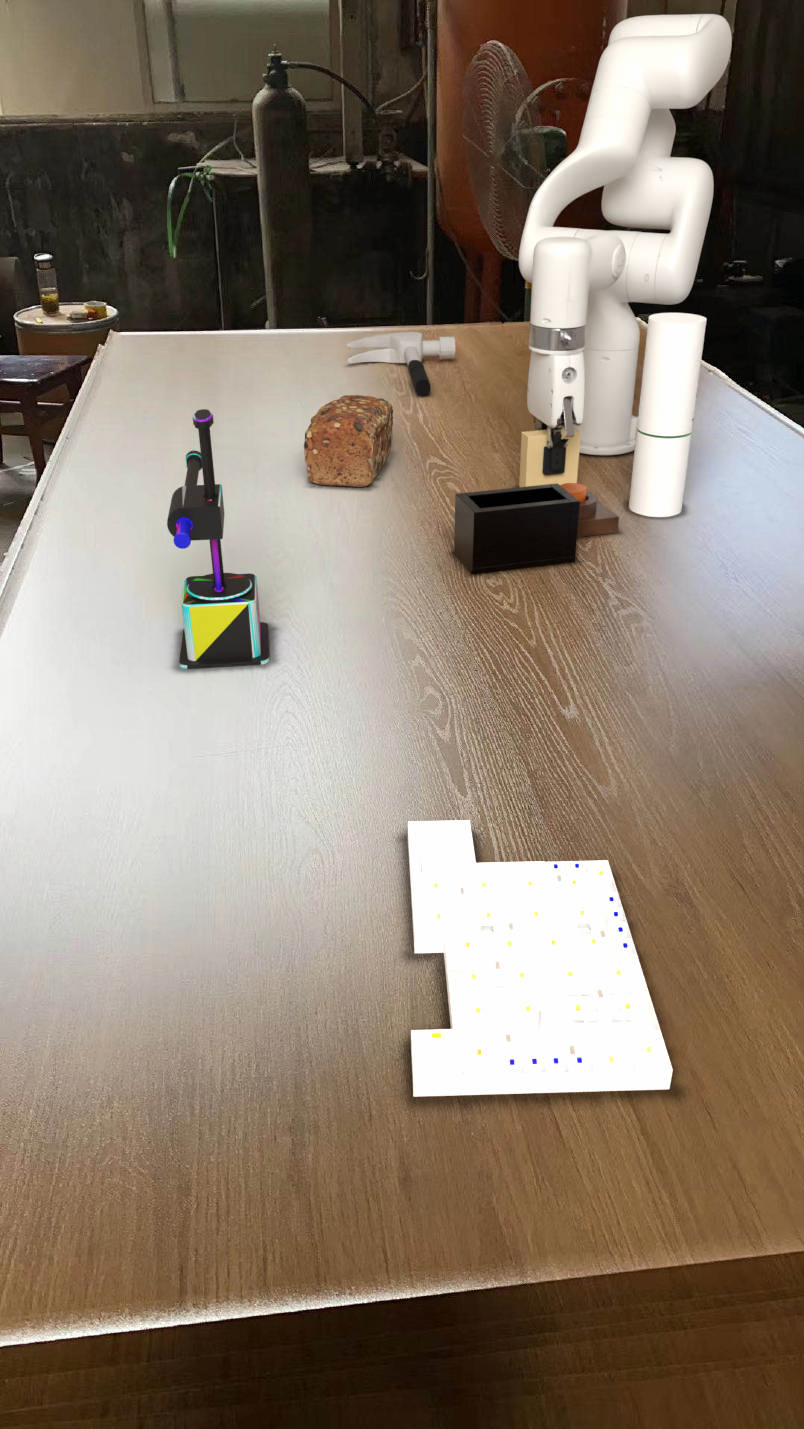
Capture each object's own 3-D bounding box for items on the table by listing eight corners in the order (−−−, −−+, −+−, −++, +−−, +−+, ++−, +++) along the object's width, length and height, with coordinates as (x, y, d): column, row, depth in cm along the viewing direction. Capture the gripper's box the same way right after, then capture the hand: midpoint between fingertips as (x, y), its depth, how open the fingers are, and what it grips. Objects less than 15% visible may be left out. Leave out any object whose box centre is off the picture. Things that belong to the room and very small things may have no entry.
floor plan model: (413, 1096, 64) (413, 1074, 63) (400, 838, 86) (400, 819, 85) (669, 1089, 65) (673, 1067, 64) (592, 834, 86) (594, 815, 85)
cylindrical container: (684, 502, 152) (709, 314, 139) (678, 519, 146) (703, 325, 133) (632, 496, 154) (652, 311, 141) (624, 513, 148) (644, 321, 135)
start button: (578, 494, 144) (580, 481, 143) (590, 503, 141) (591, 490, 140) (553, 497, 143) (554, 484, 142) (564, 506, 140) (565, 493, 139)
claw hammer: (473, 371, 200) (452, 330, 225) (353, 374, 198) (346, 333, 223) (472, 401, 203) (452, 357, 228) (354, 404, 201) (346, 360, 226)
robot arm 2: (269, 678, 108) (251, 435, 96) (177, 683, 108) (146, 439, 95) (267, 578, 130) (251, 369, 117) (190, 582, 129) (166, 372, 116)
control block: (591, 512, 149) (594, 483, 146) (617, 532, 142) (620, 503, 140) (523, 519, 146) (525, 491, 144) (546, 541, 140) (548, 511, 138)
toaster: (553, 542, 139) (557, 483, 135) (575, 562, 134) (580, 501, 130) (453, 553, 136) (455, 493, 132) (472, 574, 130) (474, 512, 126)
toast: (569, 480, 159) (573, 426, 155) (576, 486, 157) (581, 431, 153) (518, 486, 157) (521, 431, 153) (525, 492, 155) (528, 436, 151)
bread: (373, 490, 157) (372, 421, 152) (301, 486, 158) (298, 417, 153) (396, 451, 172) (395, 387, 167) (330, 448, 174) (328, 385, 169)
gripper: (608, 348, 141) (596, 485, 150) (559, 323, 154) (551, 451, 164) (554, 353, 139) (546, 491, 149) (509, 327, 152) (504, 455, 162)
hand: (548, 469), depth 156 cm, fingers closed on toast, 2 cm apart
